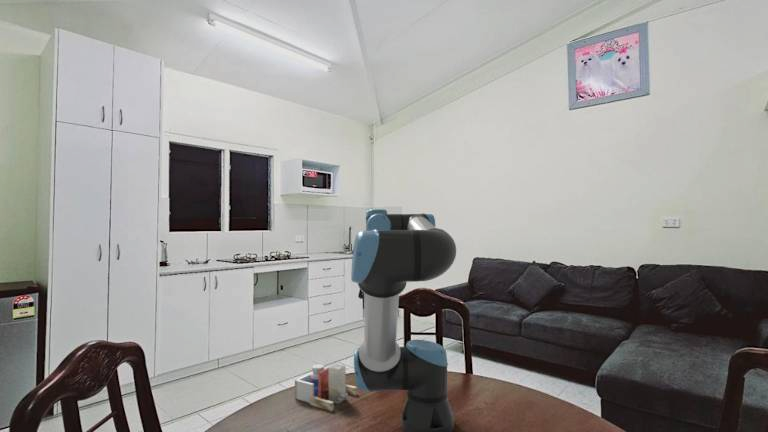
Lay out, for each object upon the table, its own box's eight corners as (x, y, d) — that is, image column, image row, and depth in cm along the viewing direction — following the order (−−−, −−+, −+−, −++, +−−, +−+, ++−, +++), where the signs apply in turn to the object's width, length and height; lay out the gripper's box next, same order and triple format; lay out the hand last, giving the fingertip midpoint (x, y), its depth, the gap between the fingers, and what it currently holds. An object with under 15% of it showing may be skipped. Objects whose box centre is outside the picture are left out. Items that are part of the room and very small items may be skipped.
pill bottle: (306, 396, 131) (306, 367, 131) (316, 390, 136) (316, 362, 136) (319, 399, 128) (319, 370, 129) (329, 393, 133) (329, 364, 133)
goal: (334, 389, 136) (334, 372, 136) (311, 403, 126) (311, 384, 126) (318, 385, 140) (318, 368, 140) (294, 398, 129) (294, 380, 130)
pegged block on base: (352, 399, 128) (352, 365, 129) (341, 406, 123) (341, 371, 124) (329, 393, 133) (329, 361, 134) (318, 400, 128) (318, 366, 128)
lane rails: (357, 394, 132) (357, 387, 132) (331, 411, 120) (331, 403, 120) (336, 388, 137) (336, 382, 137) (309, 404, 125) (309, 397, 125)
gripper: (385, 251, 148) (386, 306, 147) (347, 255, 127) (347, 320, 126) (403, 251, 144) (403, 308, 144) (366, 256, 123) (367, 323, 122)
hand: (377, 314), depth 135 cm, fingers open, 13 cm apart
